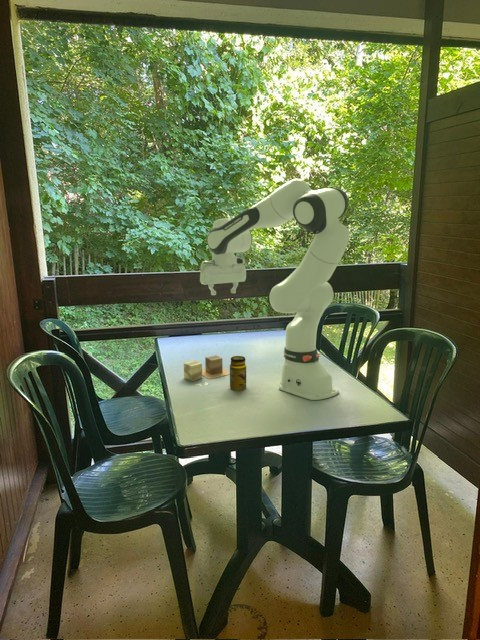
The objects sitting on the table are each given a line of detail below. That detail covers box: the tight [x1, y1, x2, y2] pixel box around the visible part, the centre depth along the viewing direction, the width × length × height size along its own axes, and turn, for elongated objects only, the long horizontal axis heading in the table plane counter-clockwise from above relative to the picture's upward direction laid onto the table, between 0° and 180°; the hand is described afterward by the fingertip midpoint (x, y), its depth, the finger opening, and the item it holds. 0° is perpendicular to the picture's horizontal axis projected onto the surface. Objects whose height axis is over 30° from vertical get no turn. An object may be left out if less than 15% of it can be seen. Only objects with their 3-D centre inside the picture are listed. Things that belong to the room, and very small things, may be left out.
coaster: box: [202, 367, 230, 380], centre depth 175 cm, size 11×11×1 cm
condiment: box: [229, 355, 247, 392], centre depth 157 cm, size 7×8×12 cm
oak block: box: [183, 360, 203, 382], centre depth 168 cm, size 5×5×6 cm
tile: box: [195, 382, 209, 387], centre depth 162 cm, size 7×7×1 cm
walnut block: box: [204, 355, 224, 375], centre depth 174 cm, size 5×5×6 cm
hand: (223, 294), depth 177 cm, fingers open, 8 cm apart
